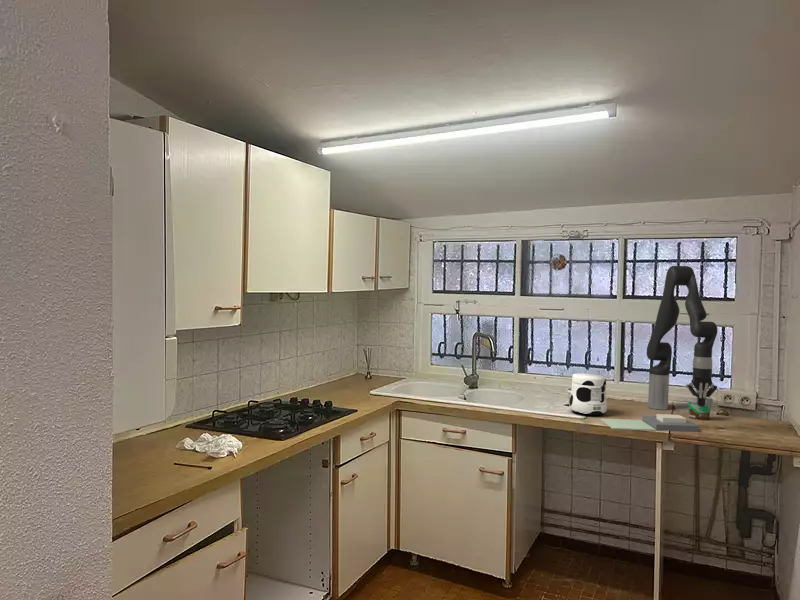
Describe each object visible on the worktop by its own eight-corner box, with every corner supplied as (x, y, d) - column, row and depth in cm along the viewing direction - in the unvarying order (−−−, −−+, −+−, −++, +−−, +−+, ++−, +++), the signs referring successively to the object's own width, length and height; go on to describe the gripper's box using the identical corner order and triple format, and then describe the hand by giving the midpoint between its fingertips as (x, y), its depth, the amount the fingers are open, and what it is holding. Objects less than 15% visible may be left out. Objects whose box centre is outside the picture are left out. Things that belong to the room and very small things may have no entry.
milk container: (578, 407, 296) (579, 371, 295) (612, 413, 284) (613, 376, 284) (562, 413, 283) (563, 375, 282) (598, 419, 271) (599, 380, 271)
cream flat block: (656, 418, 265) (656, 414, 265) (679, 419, 265) (679, 414, 265) (662, 422, 258) (662, 417, 258) (686, 423, 258) (686, 418, 258)
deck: (642, 421, 270) (642, 415, 270) (682, 422, 269) (682, 417, 269) (656, 430, 254) (656, 424, 254) (698, 431, 253) (699, 426, 253)
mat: (600, 419, 271) (600, 418, 271) (640, 421, 270) (640, 419, 270) (612, 429, 254) (612, 427, 254) (655, 430, 253) (655, 429, 253)
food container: (696, 421, 273) (697, 399, 273) (686, 418, 279) (687, 396, 278) (718, 420, 276) (719, 398, 276) (708, 417, 282) (709, 396, 282)
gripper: (713, 366, 263) (712, 405, 264) (683, 365, 264) (681, 404, 264) (722, 368, 256) (720, 408, 256) (690, 367, 256) (689, 407, 257)
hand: (700, 406), depth 260 cm, fingers closed
